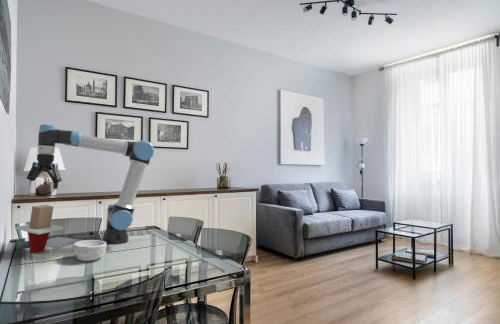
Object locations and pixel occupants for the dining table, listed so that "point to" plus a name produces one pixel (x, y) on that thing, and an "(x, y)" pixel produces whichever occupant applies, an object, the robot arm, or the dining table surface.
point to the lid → (40, 221)
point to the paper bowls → (89, 249)
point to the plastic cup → (38, 241)
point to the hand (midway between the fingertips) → (42, 194)
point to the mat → (60, 242)
